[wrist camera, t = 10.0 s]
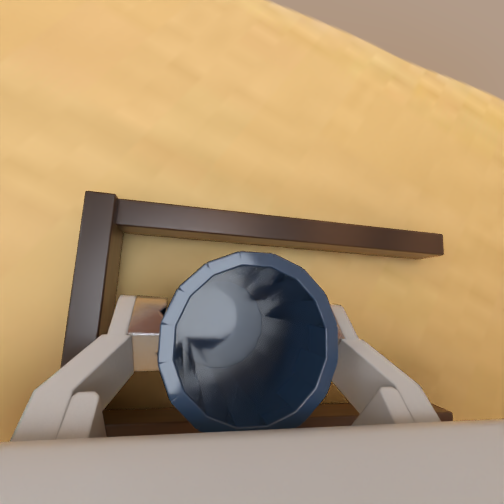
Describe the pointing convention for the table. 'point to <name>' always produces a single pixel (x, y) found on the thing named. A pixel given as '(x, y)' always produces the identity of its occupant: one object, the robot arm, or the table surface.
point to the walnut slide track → (213, 229)
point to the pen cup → (248, 344)
